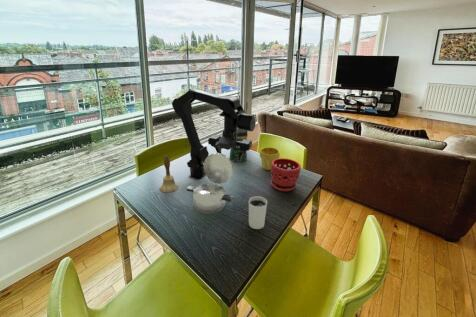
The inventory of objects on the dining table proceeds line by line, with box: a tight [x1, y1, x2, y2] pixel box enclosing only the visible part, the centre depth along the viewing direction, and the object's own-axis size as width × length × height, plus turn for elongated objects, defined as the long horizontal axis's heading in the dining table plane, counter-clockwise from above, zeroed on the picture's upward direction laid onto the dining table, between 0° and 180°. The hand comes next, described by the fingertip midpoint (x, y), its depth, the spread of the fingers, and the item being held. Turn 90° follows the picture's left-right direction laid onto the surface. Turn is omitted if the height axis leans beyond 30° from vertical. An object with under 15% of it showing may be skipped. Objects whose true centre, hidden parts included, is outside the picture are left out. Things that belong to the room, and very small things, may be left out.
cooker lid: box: [203, 152, 234, 185], centre depth 108 cm, size 13×13×2 cm
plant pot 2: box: [270, 157, 302, 192], centre depth 117 cm, size 13×13×12 cm
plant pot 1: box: [259, 146, 281, 171], centre depth 135 cm, size 10×10×10 cm
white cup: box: [248, 195, 268, 230], centre depth 93 cm, size 7×7×10 cm
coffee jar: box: [229, 128, 249, 162], centre depth 143 cm, size 10×8×19 cm
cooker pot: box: [185, 183, 234, 215], centre depth 105 cm, size 20×14×6 cm
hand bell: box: [159, 155, 179, 193], centre depth 114 cm, size 8×8×16 cm
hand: (229, 159), depth 115 cm, fingers open, 9 cm apart
